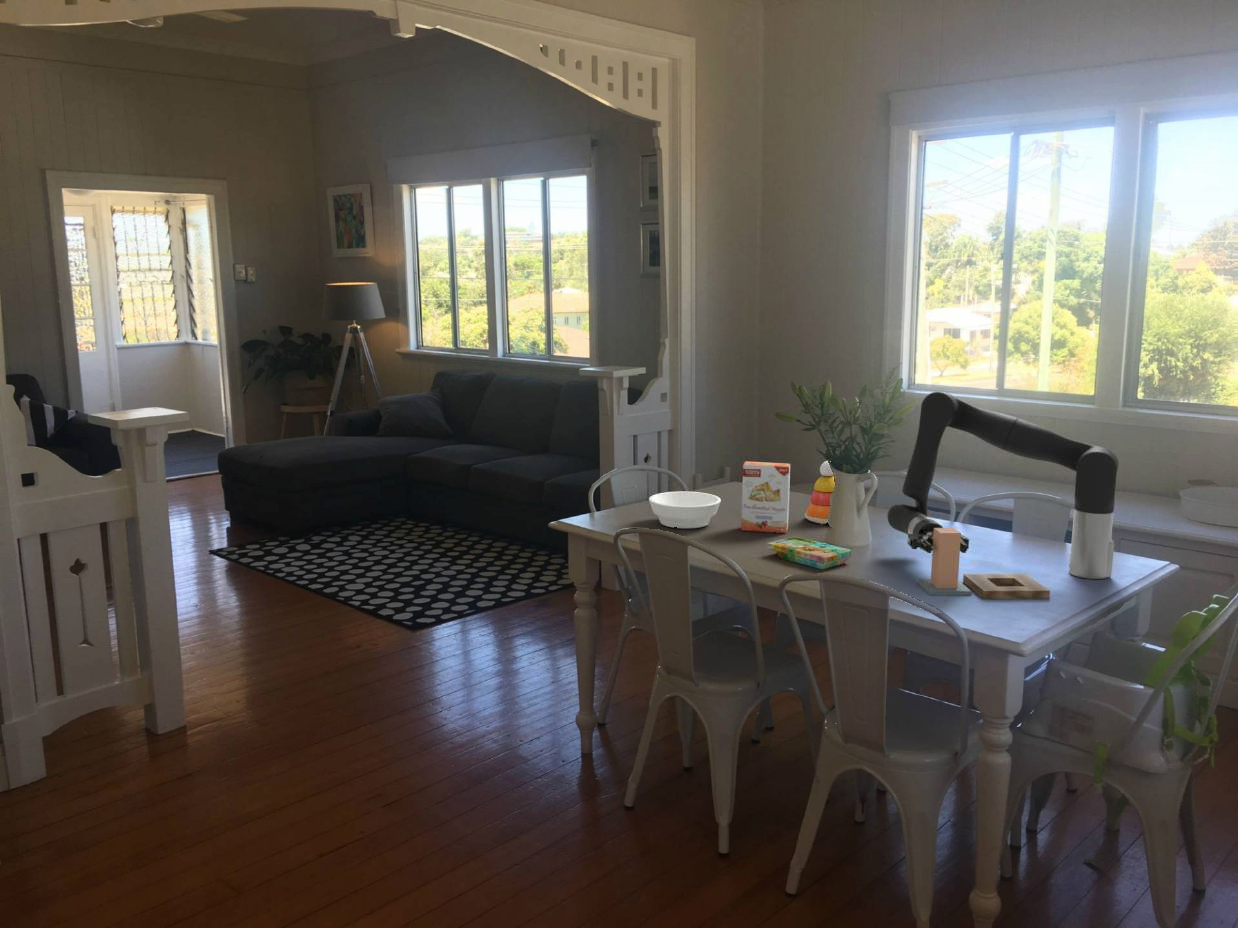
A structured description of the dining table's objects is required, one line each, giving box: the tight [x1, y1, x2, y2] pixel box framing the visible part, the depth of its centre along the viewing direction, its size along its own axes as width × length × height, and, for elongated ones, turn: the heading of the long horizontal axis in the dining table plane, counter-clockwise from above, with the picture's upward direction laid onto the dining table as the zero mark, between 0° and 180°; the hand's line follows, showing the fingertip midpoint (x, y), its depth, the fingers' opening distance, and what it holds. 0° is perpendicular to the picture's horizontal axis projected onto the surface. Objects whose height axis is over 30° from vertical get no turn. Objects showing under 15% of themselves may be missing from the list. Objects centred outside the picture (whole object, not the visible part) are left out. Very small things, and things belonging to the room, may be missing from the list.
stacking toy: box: [804, 460, 835, 525], centre depth 319 cm, size 14×14×20 cm
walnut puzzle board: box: [962, 573, 1051, 600], centre depth 249 cm, size 16×14×2 cm
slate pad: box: [917, 578, 972, 596], centre depth 250 cm, size 10×10×1 cm
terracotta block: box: [930, 527, 962, 588], centre depth 249 cm, size 5×5×14 cm
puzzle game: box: [766, 536, 852, 570], centre depth 276 cm, size 12×5×20 cm
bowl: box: [648, 491, 722, 529], centre depth 315 cm, size 22×22×8 cm
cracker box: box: [740, 460, 791, 534], centre depth 307 cm, size 14×6×21 cm, turn 76°
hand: (947, 549), depth 247 cm, fingers open, 8 cm apart
